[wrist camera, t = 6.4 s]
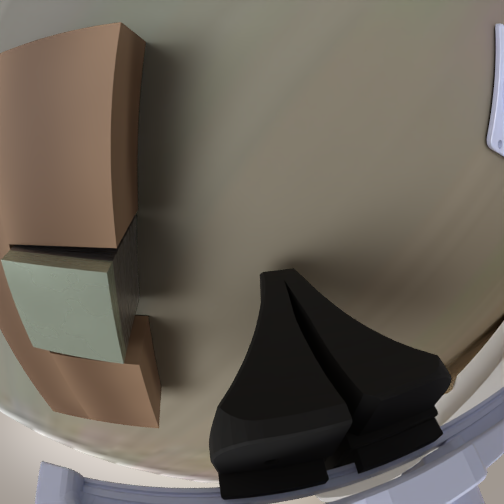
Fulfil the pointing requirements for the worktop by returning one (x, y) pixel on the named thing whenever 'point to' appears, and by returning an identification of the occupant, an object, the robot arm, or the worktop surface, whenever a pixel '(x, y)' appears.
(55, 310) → the sage green cube
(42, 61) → the brown u-shaped block
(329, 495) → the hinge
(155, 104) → the worktop surface
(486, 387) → the shelf bracket
